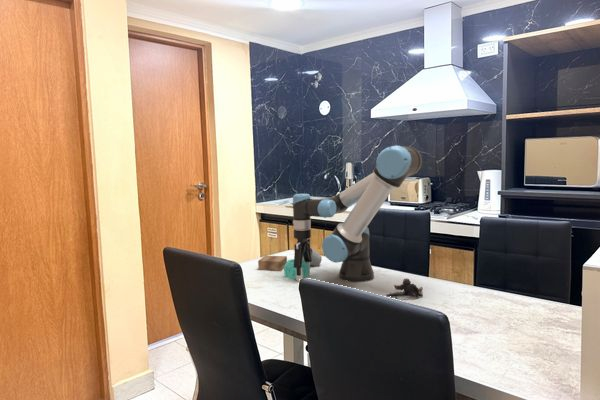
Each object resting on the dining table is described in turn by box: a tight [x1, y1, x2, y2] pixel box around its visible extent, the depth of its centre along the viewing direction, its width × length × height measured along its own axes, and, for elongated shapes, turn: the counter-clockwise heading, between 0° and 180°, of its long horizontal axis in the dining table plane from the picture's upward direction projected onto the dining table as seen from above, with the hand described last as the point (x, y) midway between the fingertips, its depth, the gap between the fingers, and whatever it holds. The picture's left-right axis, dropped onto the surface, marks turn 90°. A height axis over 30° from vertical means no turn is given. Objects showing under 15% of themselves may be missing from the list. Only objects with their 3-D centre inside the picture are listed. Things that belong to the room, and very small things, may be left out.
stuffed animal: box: [385, 278, 424, 301], centre depth 164 cm, size 12×10×12 cm
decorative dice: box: [283, 258, 309, 280], centre depth 192 cm, size 8×8×8 cm
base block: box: [257, 255, 288, 272], centre depth 207 cm, size 11×11×6 cm
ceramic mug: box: [303, 247, 323, 267], centre depth 212 cm, size 11×8×8 cm
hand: (303, 279), depth 190 cm, fingers open, 9 cm apart
